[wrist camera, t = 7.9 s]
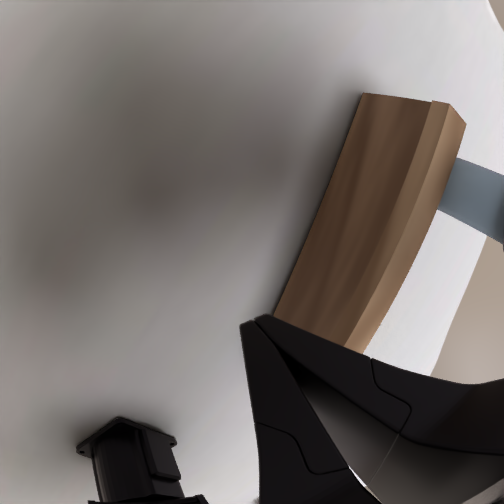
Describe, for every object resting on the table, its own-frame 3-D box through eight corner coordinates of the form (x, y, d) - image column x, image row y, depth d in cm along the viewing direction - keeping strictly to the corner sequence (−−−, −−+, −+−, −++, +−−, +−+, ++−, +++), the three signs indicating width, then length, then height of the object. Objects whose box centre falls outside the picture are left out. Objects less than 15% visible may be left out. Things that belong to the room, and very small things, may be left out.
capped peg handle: (367, 194, 19) (512, 275, 10) (349, 149, 17) (521, 219, 8) (400, 164, 19) (539, 227, 11) (385, 119, 17) (546, 170, 8)
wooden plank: (253, 352, 21) (296, 418, 16) (360, 90, 15) (449, 103, 10) (276, 351, 22) (321, 412, 17) (381, 105, 16) (466, 124, 11)
